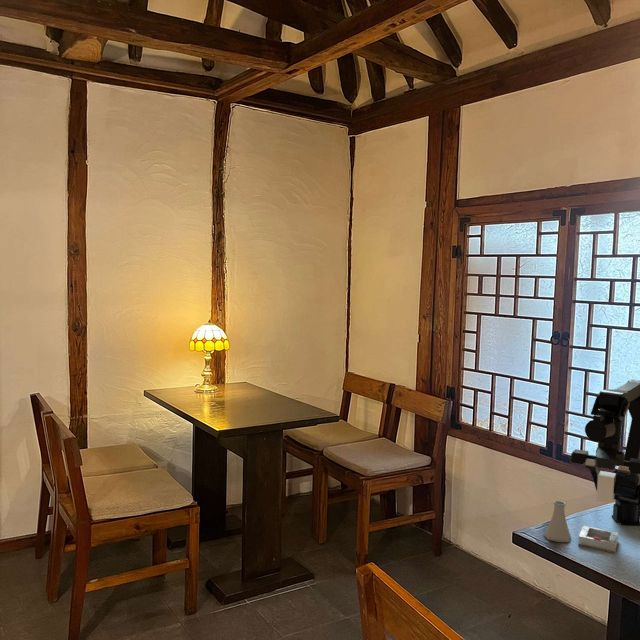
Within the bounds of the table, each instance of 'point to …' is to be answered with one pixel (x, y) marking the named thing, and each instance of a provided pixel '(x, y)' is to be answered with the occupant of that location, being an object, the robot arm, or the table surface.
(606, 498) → the plug
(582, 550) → the table surface
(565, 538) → the flask
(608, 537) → the socket
